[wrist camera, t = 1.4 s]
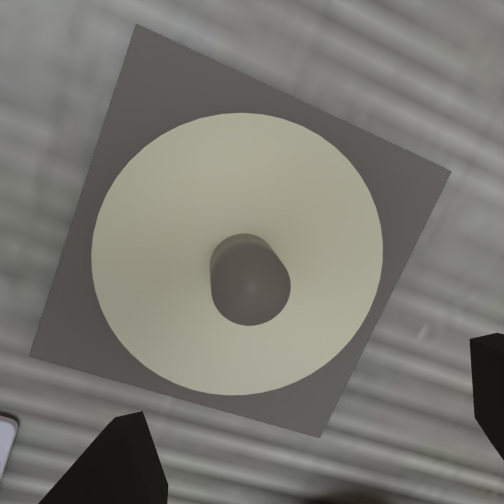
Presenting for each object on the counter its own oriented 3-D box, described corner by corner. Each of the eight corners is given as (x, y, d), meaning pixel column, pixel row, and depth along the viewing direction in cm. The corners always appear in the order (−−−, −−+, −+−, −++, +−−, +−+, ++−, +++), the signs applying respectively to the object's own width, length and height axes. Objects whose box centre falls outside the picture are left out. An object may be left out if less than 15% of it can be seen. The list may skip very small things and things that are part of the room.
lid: (58, 343, 18) (24, 388, 15) (152, 60, 16) (137, 35, 12) (310, 416, 21) (332, 469, 17) (423, 182, 18) (474, 190, 15)
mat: (32, 351, 19) (28, 356, 18) (137, 26, 16) (136, 23, 16) (317, 433, 22) (319, 438, 21) (446, 170, 19) (451, 171, 19)
